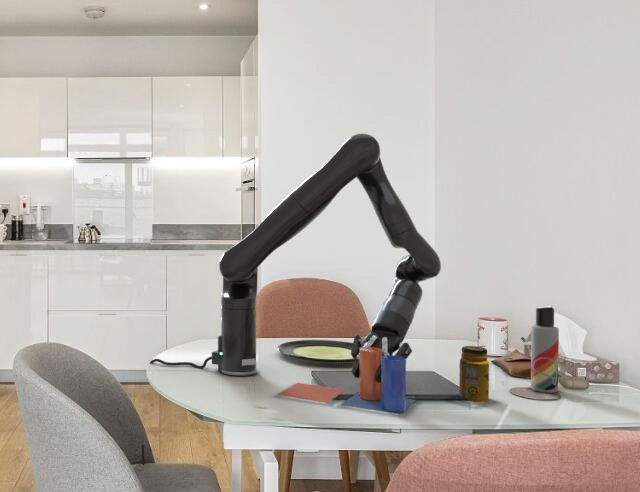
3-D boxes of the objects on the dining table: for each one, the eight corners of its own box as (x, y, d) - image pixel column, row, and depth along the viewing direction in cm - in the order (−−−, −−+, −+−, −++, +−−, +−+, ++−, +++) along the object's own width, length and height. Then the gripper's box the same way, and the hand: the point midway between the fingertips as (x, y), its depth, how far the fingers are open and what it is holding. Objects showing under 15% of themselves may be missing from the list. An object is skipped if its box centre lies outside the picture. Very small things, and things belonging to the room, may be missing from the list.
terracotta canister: (356, 398, 161) (356, 349, 161) (362, 393, 165) (363, 346, 165) (378, 401, 159) (379, 352, 158) (384, 396, 163) (385, 348, 163)
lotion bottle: (548, 394, 167) (549, 309, 167) (525, 388, 172) (526, 305, 172) (563, 391, 170) (564, 307, 169) (540, 385, 175) (541, 304, 174)
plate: (392, 356, 209) (392, 347, 209) (350, 373, 188) (350, 363, 188) (306, 343, 227) (306, 335, 227) (259, 358, 207) (259, 349, 206)
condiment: (497, 402, 161) (497, 348, 161) (475, 407, 156) (475, 353, 156) (467, 394, 167) (467, 343, 167) (445, 400, 162) (445, 347, 162)
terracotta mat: (276, 397, 165) (276, 394, 165) (297, 385, 176) (297, 382, 176) (327, 405, 158) (327, 402, 158) (345, 392, 169) (345, 389, 169)
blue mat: (340, 407, 157) (340, 404, 157) (358, 394, 168) (358, 391, 167) (401, 417, 149) (401, 414, 149) (416, 402, 160) (416, 399, 160)
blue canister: (378, 409, 153) (378, 358, 152) (384, 404, 157) (384, 354, 157) (402, 413, 150) (402, 361, 150) (408, 408, 154) (408, 357, 154)
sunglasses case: (487, 360, 201) (500, 340, 200) (510, 373, 200) (523, 353, 199) (511, 375, 183) (525, 353, 182) (536, 390, 182) (551, 368, 182)
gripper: (361, 305, 172) (332, 362, 164) (417, 312, 161) (389, 374, 153) (372, 325, 176) (345, 382, 168) (428, 333, 165) (402, 394, 157)
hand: (366, 377), depth 161 cm, fingers closed on terracotta canister, 5 cm apart
